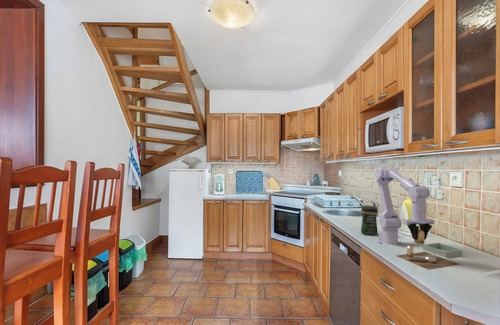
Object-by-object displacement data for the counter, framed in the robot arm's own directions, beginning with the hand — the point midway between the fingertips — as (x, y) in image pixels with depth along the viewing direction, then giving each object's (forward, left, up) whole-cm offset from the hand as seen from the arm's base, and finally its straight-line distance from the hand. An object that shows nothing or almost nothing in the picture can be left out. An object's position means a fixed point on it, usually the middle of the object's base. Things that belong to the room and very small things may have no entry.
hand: (419, 239), depth 114 cm
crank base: (+4, -1, -9) cm, 10 cm away
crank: (+4, -4, -8) cm, 10 cm away
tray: (-1, +16, -9) cm, 19 cm away
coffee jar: (-40, +8, -10) cm, 42 cm away
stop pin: (0, 0, -2) cm, 2 cm away
